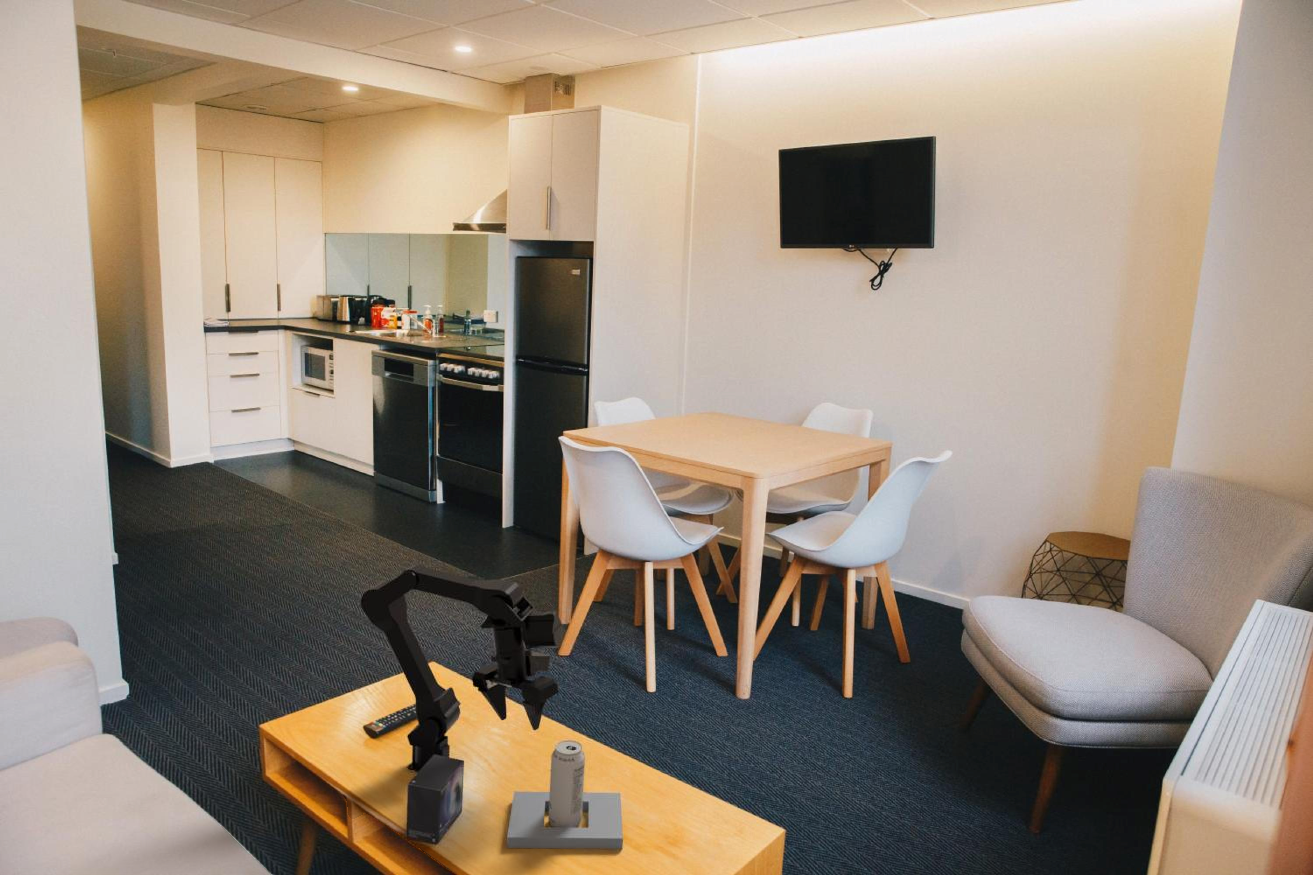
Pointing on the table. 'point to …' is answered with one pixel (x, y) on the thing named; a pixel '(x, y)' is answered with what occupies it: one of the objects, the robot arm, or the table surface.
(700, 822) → the table surface
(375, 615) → the robot arm
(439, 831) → the small box
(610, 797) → the hole board
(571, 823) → the energy drink can
